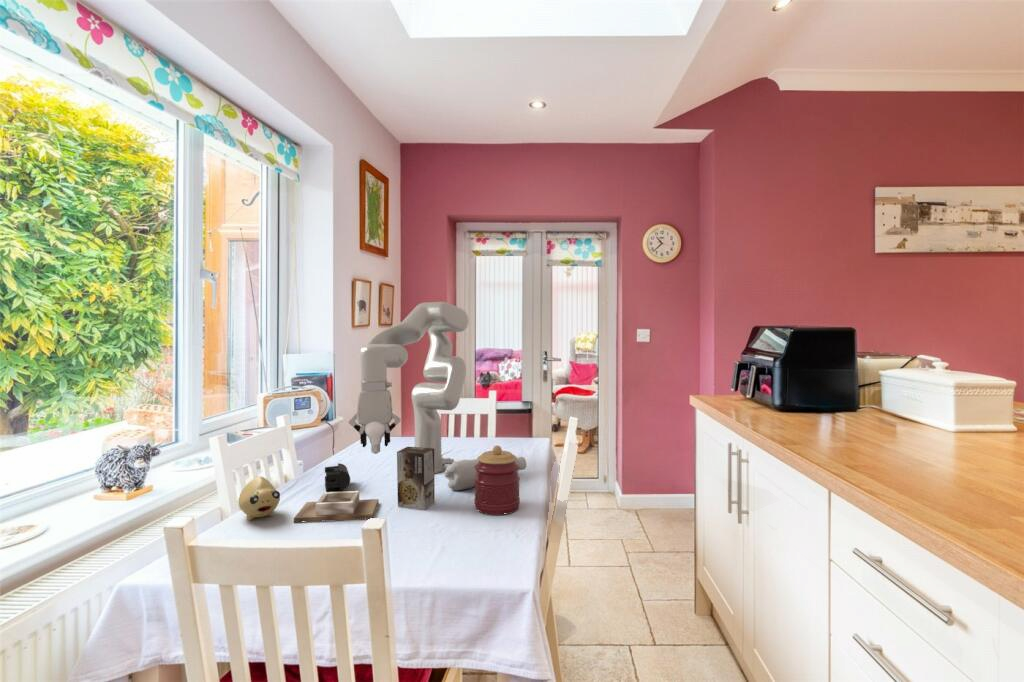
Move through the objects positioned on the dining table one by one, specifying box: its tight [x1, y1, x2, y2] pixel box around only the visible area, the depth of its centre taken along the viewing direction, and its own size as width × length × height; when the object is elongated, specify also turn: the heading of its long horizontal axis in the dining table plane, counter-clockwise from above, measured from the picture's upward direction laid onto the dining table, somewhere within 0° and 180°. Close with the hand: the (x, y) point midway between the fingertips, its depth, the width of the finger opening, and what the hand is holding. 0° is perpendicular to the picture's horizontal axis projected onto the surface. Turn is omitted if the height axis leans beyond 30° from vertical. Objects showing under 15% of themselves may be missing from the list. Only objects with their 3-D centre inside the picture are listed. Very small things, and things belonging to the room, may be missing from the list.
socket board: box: [293, 490, 380, 523], centre depth 135 cm, size 20×12×4 cm, turn 98°
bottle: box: [444, 456, 527, 492], centre depth 162 cm, size 9×9×30 cm
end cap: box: [324, 463, 351, 492], centre depth 156 cm, size 10×7×7 cm
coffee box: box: [396, 446, 436, 511], centre depth 140 cm, size 9×6×16 cm
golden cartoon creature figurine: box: [238, 476, 281, 521], centre depth 131 cm, size 10×12×11 cm
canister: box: [473, 445, 521, 515], centre depth 138 cm, size 13×13×18 cm
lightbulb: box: [365, 422, 386, 455], centre depth 148 cm, size 6×6×11 cm
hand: (375, 445), depth 148 cm, fingers closed on lightbulb, 5 cm apart
